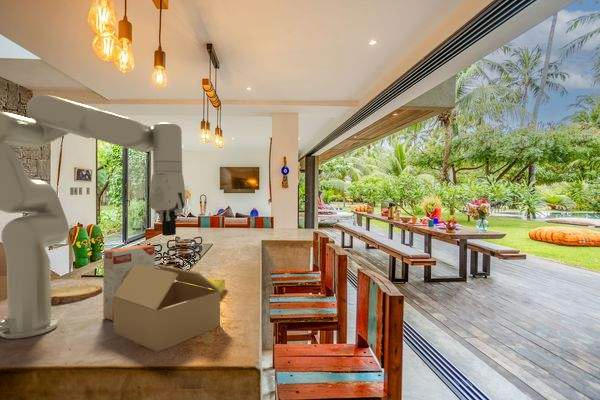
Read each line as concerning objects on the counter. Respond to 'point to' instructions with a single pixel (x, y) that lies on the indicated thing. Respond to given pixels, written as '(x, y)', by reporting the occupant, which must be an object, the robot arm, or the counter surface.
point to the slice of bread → (74, 293)
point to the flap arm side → (146, 286)
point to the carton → (168, 317)
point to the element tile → (217, 284)
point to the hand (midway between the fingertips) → (169, 234)
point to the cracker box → (122, 270)
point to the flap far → (189, 277)
